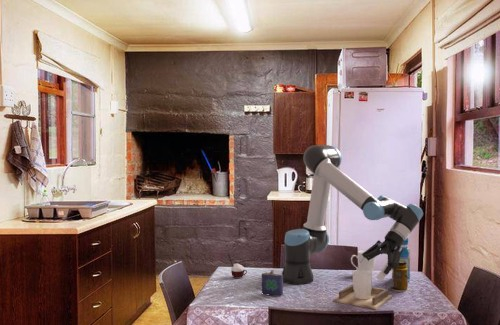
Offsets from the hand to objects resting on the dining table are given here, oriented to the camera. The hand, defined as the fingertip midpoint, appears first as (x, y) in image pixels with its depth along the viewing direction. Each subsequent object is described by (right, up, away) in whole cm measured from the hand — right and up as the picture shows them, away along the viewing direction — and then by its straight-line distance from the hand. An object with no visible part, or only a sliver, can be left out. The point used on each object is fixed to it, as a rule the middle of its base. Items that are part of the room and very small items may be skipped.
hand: (368, 275), depth 186 cm
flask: (-39, -10, +7) cm, 41 cm away
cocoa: (-55, -10, +37) cm, 67 cm away
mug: (+7, -9, +38) cm, 40 cm away
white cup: (-2, -9, 0) cm, 9 cm away
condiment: (+17, -10, +14) cm, 24 cm away
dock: (-2, -10, 0) cm, 10 cm away
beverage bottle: (+23, -9, +29) cm, 38 cm away
